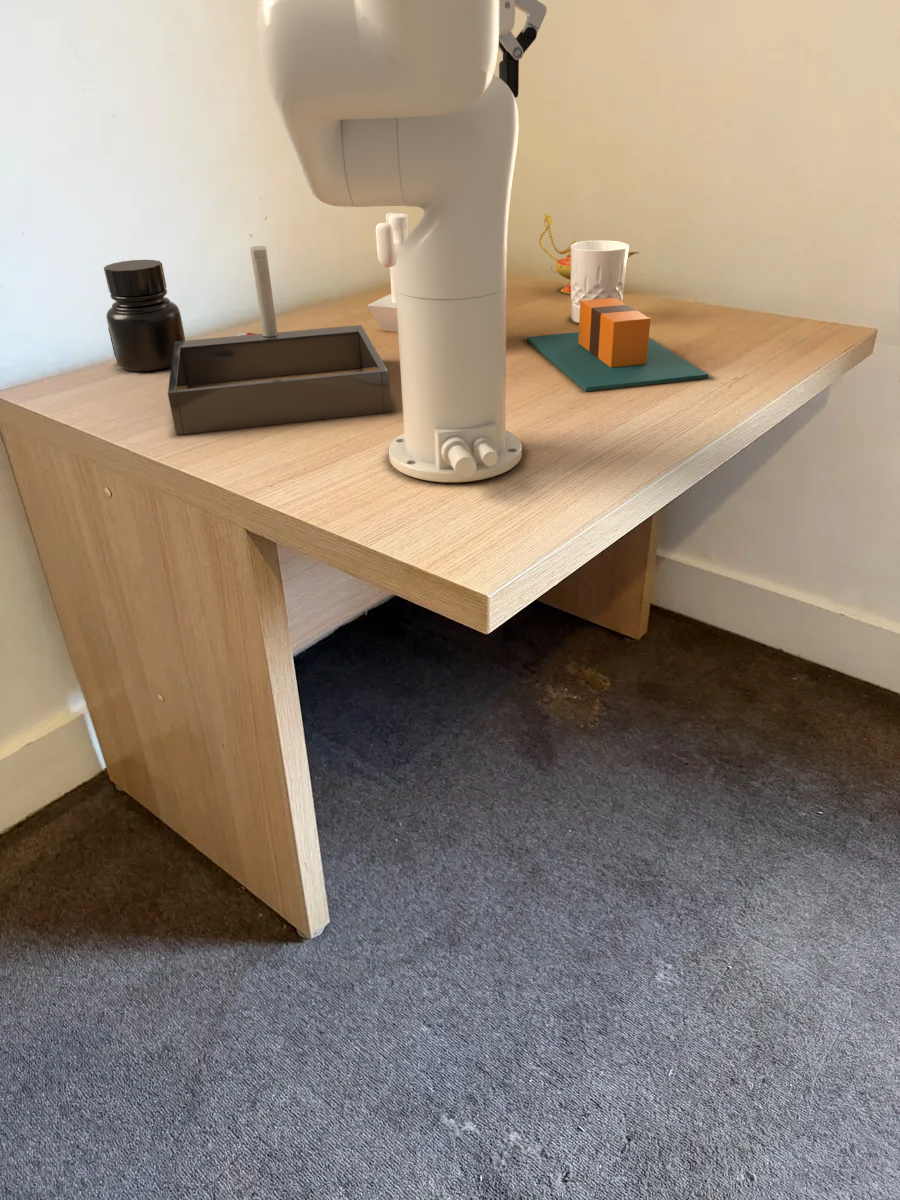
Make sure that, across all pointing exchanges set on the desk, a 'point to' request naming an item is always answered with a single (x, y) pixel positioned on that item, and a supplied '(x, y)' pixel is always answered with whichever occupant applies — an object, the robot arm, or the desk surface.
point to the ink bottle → (142, 316)
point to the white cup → (597, 271)
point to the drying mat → (601, 376)
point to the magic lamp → (563, 264)
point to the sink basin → (275, 373)
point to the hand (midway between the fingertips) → (460, 108)
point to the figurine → (388, 248)
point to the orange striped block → (614, 332)
